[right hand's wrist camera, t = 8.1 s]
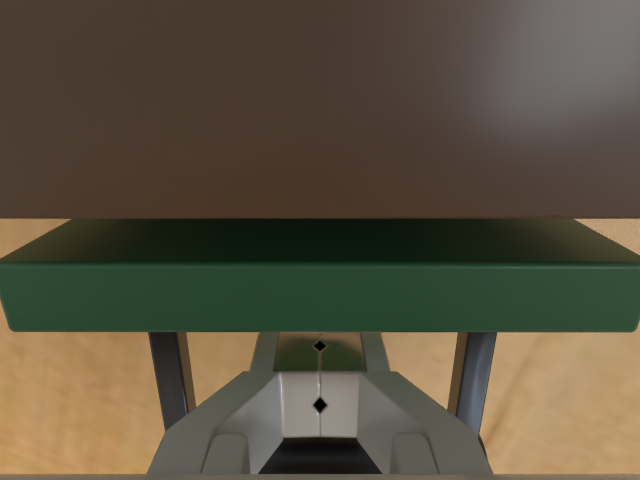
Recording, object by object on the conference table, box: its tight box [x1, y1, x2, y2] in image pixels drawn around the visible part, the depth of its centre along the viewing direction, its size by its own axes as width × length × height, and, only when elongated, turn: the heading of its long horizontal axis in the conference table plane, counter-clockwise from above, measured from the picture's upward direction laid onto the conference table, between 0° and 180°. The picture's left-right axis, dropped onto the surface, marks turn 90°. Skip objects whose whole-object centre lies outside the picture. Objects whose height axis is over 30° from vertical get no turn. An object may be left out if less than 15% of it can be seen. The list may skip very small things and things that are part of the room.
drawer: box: [0, 219, 640, 474], centre depth 9 cm, size 18×10×8 cm, turn 0°
